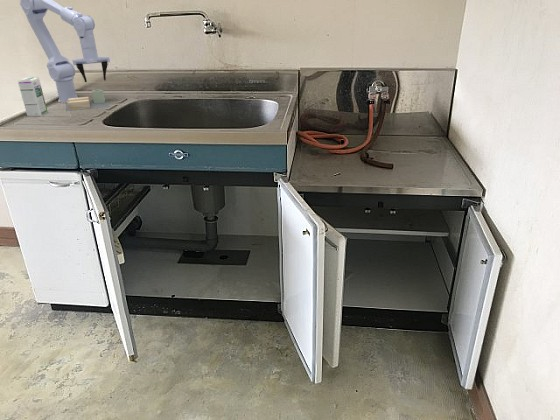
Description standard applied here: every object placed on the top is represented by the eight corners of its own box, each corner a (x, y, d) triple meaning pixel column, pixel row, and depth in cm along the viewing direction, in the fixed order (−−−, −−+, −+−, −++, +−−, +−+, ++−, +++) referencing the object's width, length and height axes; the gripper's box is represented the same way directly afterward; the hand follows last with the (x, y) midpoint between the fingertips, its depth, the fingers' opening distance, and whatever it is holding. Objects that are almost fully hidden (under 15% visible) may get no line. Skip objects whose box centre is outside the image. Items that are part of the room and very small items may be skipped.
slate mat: (66, 104, 204) (66, 103, 204) (107, 100, 209) (107, 99, 209) (65, 112, 192) (65, 111, 192) (109, 108, 197) (109, 106, 197)
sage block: (94, 101, 206) (91, 89, 204) (104, 100, 208) (102, 88, 206) (94, 103, 203) (92, 91, 200) (105, 102, 204) (103, 90, 202)
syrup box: (41, 117, 186) (32, 79, 180) (26, 117, 186) (17, 80, 180) (48, 113, 191) (39, 76, 185) (33, 113, 191) (24, 77, 185)
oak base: (69, 105, 200) (68, 98, 198) (89, 103, 202) (88, 96, 201) (69, 110, 193) (68, 102, 192) (90, 108, 196) (88, 100, 194)
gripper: (69, 50, 189) (77, 84, 195) (107, 47, 194) (113, 80, 200) (70, 48, 195) (77, 81, 201) (106, 45, 200) (112, 78, 206)
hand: (95, 81), depth 201 cm, fingers open, 7 cm apart
